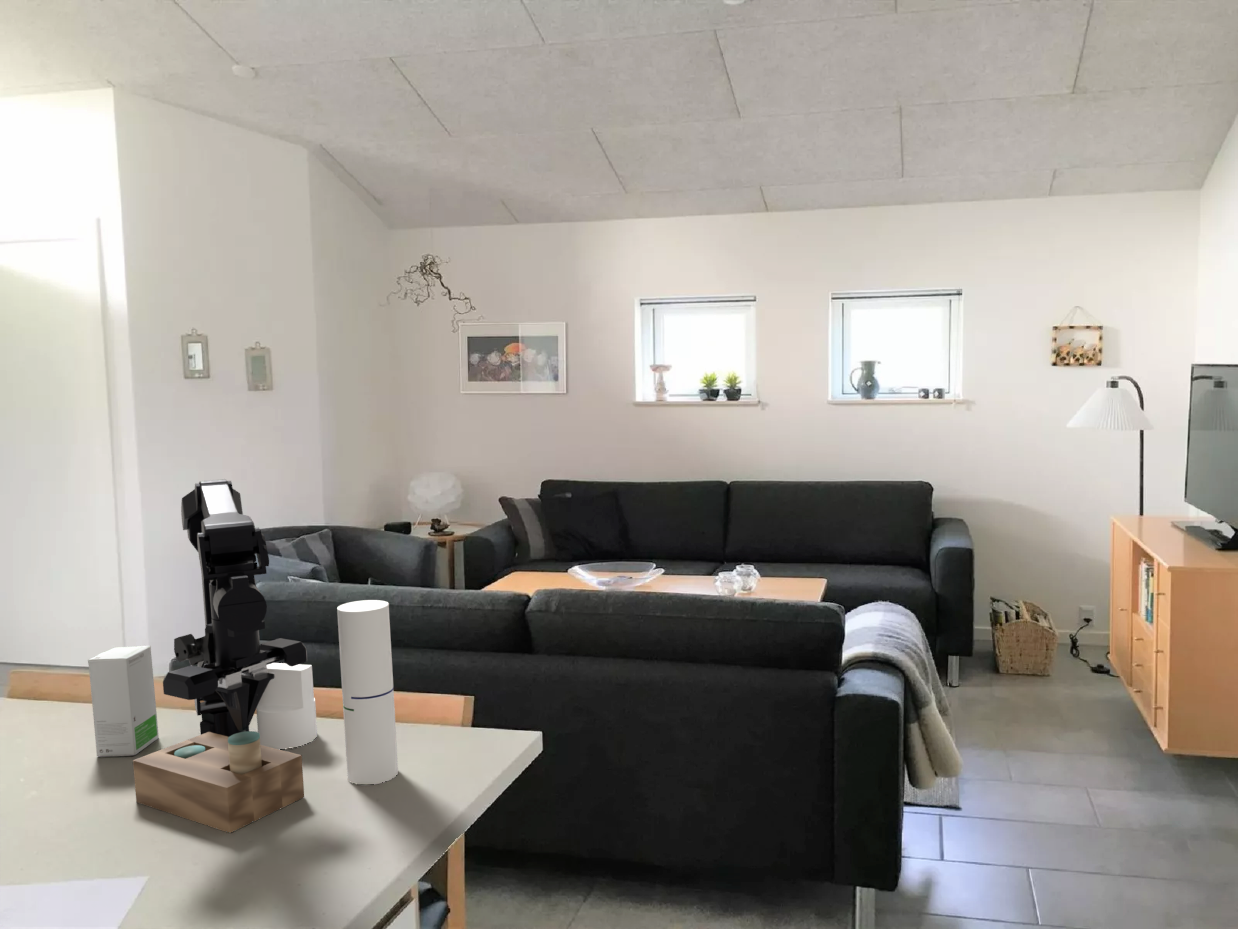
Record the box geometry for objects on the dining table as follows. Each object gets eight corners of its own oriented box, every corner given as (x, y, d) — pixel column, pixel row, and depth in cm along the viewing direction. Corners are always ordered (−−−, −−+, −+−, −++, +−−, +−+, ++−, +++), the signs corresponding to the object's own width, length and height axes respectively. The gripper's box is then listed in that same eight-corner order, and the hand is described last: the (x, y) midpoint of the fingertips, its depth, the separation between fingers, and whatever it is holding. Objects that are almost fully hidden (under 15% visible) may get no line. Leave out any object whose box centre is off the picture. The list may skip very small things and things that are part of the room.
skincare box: (134, 757, 154) (126, 659, 152) (92, 758, 154) (84, 660, 153) (160, 737, 162) (153, 644, 161) (120, 738, 162) (113, 645, 161)
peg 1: (196, 781, 143) (193, 743, 142) (214, 787, 141) (211, 748, 140) (171, 792, 139) (168, 753, 139) (189, 797, 137) (186, 758, 137)
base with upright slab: (328, 731, 162) (324, 659, 161) (295, 752, 154) (290, 676, 152) (281, 727, 165) (276, 657, 164) (246, 747, 156) (241, 673, 155)
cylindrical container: (385, 786, 139) (375, 612, 137) (338, 783, 141) (327, 611, 139) (406, 766, 146) (396, 600, 144) (361, 764, 148) (351, 599, 146)
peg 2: (249, 769, 136) (246, 729, 136) (268, 775, 134) (265, 734, 133) (224, 780, 133) (221, 739, 132) (243, 786, 131) (240, 744, 130)
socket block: (211, 770, 147) (208, 731, 147) (304, 797, 137) (301, 755, 136) (136, 802, 137) (132, 760, 136) (230, 833, 127) (226, 787, 126)
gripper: (253, 595, 143) (260, 700, 145) (132, 625, 128) (141, 743, 129) (306, 602, 138) (313, 711, 139) (186, 635, 122) (195, 758, 123)
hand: (242, 729), depth 133 cm, fingers closed
